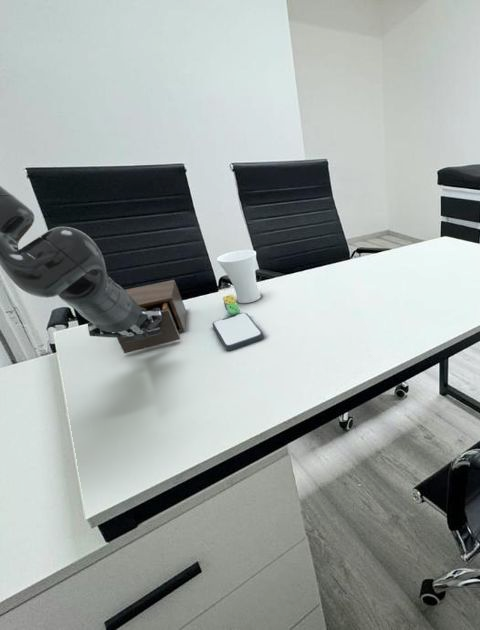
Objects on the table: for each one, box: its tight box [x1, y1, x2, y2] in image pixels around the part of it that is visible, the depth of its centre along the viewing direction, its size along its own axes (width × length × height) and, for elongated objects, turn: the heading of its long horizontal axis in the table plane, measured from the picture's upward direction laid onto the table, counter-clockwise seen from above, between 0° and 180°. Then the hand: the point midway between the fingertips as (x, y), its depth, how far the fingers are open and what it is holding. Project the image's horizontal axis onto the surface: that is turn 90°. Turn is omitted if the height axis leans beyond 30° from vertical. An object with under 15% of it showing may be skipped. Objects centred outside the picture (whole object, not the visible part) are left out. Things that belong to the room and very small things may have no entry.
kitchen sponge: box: [222, 294, 241, 317], centre depth 103 cm, size 8×3×6 cm, turn 34°
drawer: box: [113, 301, 181, 354], centre depth 93 cm, size 18×11×8 cm, turn 27°
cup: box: [216, 249, 262, 304], centre depth 112 cm, size 10×10×14 cm
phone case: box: [211, 312, 264, 351], centre depth 96 cm, size 9×2×16 cm
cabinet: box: [124, 279, 187, 334], centre depth 100 cm, size 15×13×10 cm
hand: (141, 335), depth 85 cm, fingers closed
